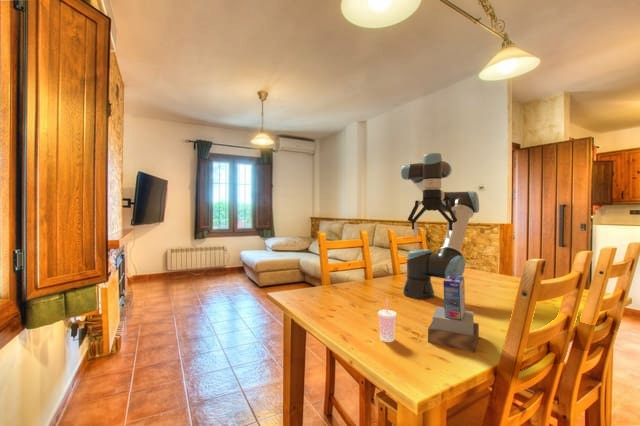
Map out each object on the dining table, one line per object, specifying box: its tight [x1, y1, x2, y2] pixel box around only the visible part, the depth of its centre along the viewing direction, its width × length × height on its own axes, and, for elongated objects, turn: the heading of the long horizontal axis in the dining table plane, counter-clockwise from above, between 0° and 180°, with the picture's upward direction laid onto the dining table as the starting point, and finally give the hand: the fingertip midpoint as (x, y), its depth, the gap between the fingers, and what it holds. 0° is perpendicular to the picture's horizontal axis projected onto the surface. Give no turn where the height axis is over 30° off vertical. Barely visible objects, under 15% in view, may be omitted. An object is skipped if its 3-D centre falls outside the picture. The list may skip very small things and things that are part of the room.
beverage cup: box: [377, 297, 397, 343], centre depth 100 cm, size 6×6×14 cm
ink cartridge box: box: [442, 271, 466, 320], centre depth 100 cm, size 10×6×14 cm, turn 147°
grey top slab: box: [432, 306, 474, 336], centre depth 100 cm, size 12×12×4 cm
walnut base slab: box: [427, 320, 480, 354], centre depth 100 cm, size 14×14×5 cm
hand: (431, 237), depth 129 cm, fingers open, 13 cm apart
